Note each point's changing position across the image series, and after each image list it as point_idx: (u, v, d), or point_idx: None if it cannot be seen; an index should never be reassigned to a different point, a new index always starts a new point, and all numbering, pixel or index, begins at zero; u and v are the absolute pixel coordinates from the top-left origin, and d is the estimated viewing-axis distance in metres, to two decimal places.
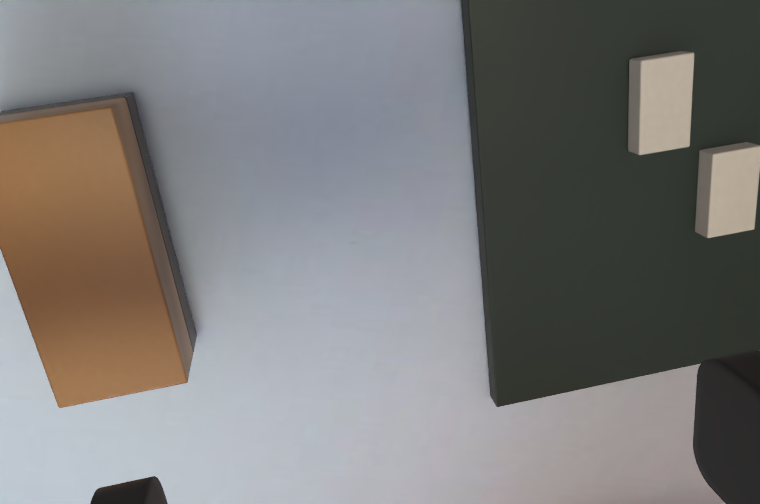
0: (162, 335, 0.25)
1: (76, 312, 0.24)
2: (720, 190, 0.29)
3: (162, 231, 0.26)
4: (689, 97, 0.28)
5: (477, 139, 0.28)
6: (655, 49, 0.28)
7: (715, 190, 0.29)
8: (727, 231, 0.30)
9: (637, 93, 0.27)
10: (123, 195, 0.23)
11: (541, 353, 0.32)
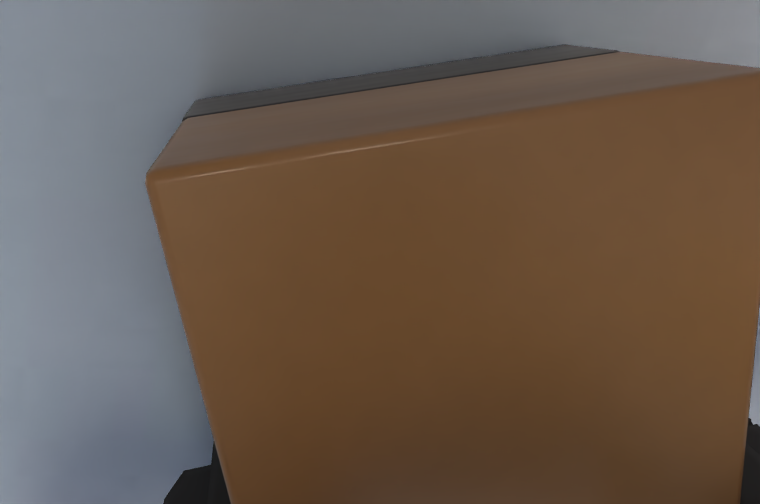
0: None
1: None
2: None
3: None
4: None
5: None
6: None
7: None
8: None
9: None
10: (713, 407, 0.06)
11: None
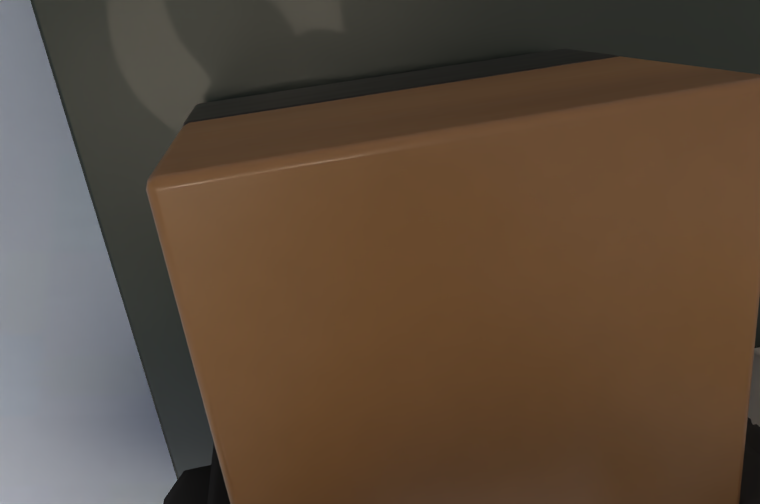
0: None
1: None
2: None
3: None
4: None
5: (141, 357, 0.10)
6: None
7: None
8: None
9: None
10: (712, 411, 0.06)
11: None
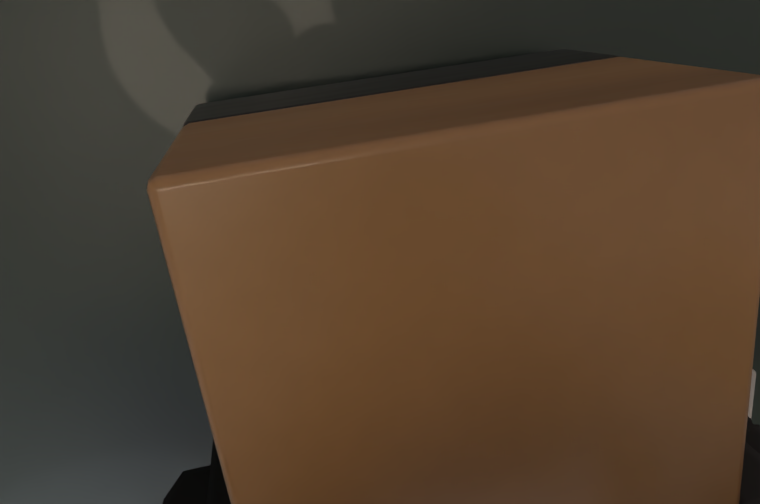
0: None
1: None
2: None
3: None
4: None
5: None
6: None
7: None
8: None
9: None
10: (712, 411, 0.06)
11: None
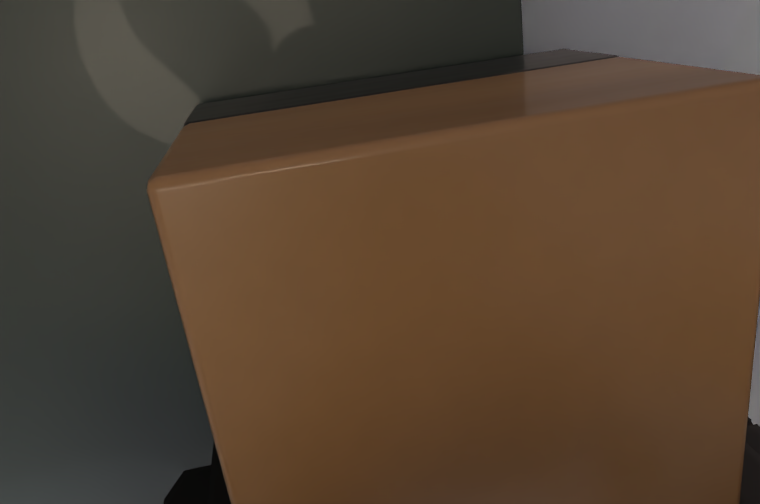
0: None
1: None
2: None
3: None
4: None
5: None
6: None
7: None
8: None
9: None
10: (712, 411, 0.06)
11: None
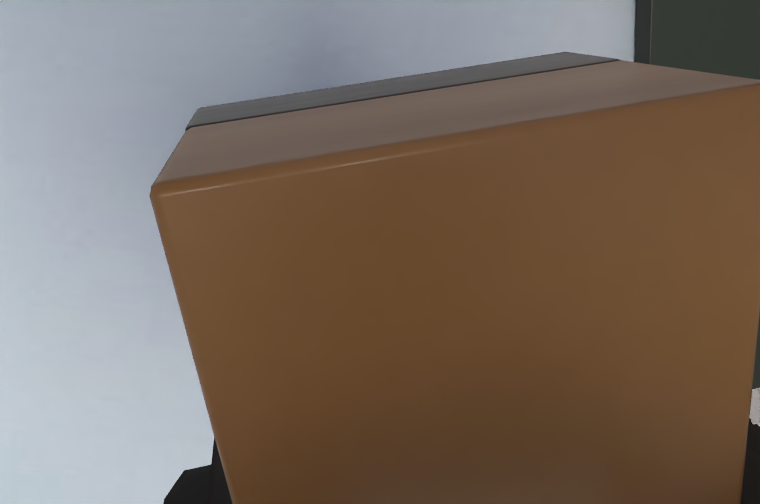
0: None
1: None
2: None
3: None
4: None
5: None
6: None
7: None
8: None
9: None
10: (713, 415, 0.06)
11: None
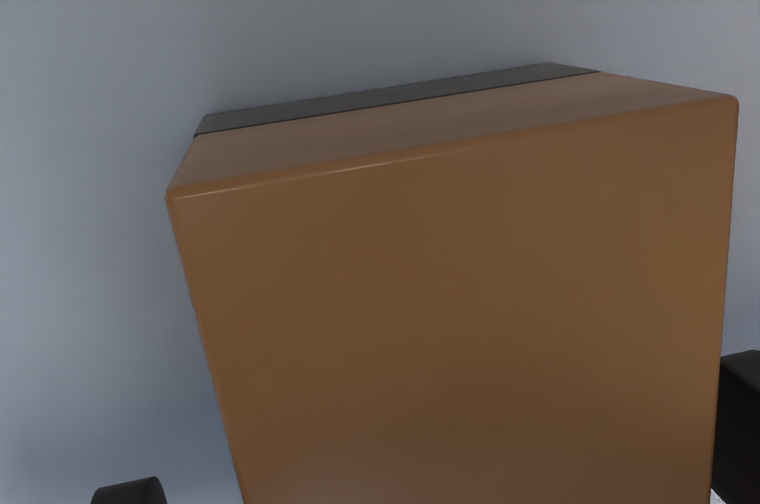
0: None
1: None
2: None
3: None
4: None
5: None
6: None
7: None
8: None
9: None
10: (683, 401, 0.07)
11: None
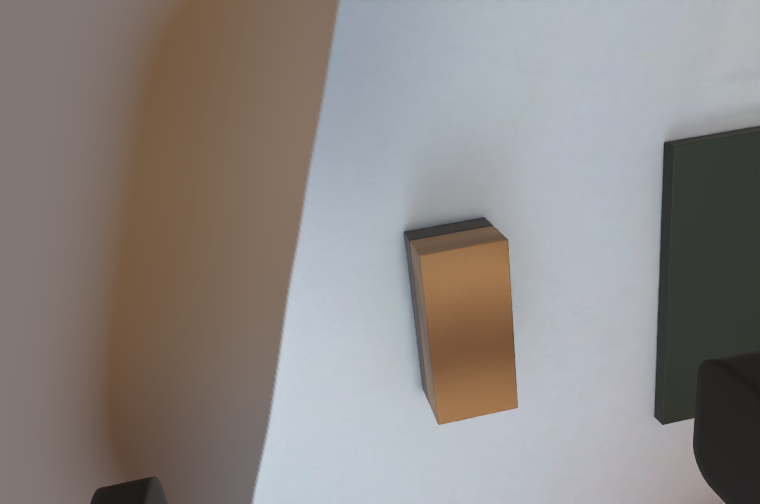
0: (509, 377, 0.38)
1: (462, 364, 0.38)
2: None
3: None
4: None
5: (669, 245, 0.41)
6: None
7: None
8: None
9: None
10: (504, 291, 0.36)
11: (696, 387, 0.45)
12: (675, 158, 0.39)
